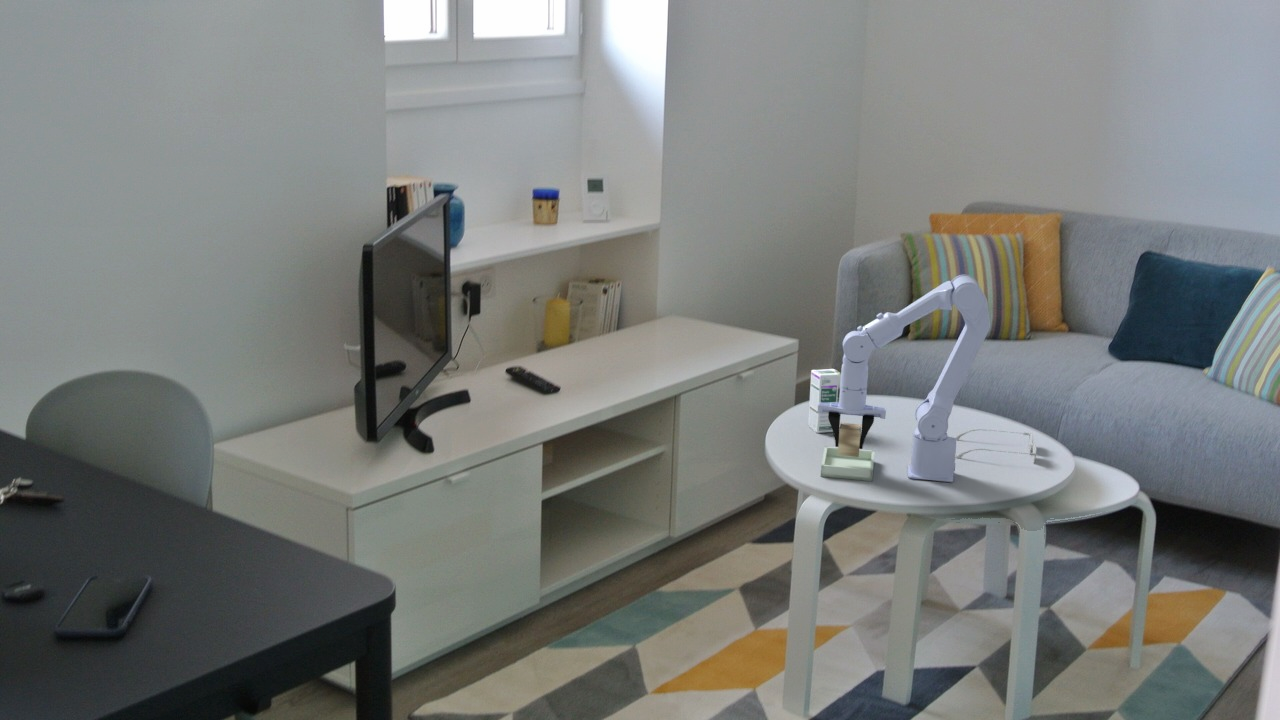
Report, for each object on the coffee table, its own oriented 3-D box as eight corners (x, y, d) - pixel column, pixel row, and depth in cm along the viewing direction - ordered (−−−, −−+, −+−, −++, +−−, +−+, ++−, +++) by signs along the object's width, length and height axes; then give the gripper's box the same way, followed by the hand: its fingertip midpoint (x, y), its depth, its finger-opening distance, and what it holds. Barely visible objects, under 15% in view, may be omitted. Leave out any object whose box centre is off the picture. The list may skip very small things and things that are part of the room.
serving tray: (873, 461, 283) (874, 450, 282) (872, 481, 270) (873, 470, 270) (824, 457, 285) (824, 446, 284) (820, 476, 273) (821, 465, 272)
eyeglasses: (1035, 468, 283) (1037, 451, 282) (953, 461, 286) (954, 444, 285) (1029, 446, 297) (1031, 430, 296) (950, 440, 301) (952, 424, 300)
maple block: (859, 450, 279) (861, 424, 277) (858, 456, 274) (860, 430, 273) (838, 448, 279) (840, 422, 278) (837, 455, 275) (839, 428, 274)
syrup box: (817, 433, 301) (820, 375, 297) (807, 426, 307) (811, 368, 303) (839, 432, 303) (843, 373, 299) (829, 424, 308) (833, 367, 304)
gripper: (887, 384, 275) (883, 443, 279) (820, 379, 278) (816, 437, 281) (887, 393, 269) (882, 454, 272) (818, 387, 271) (814, 447, 275)
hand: (849, 446), depth 276 cm, fingers closed on maple block, 4 cm apart
